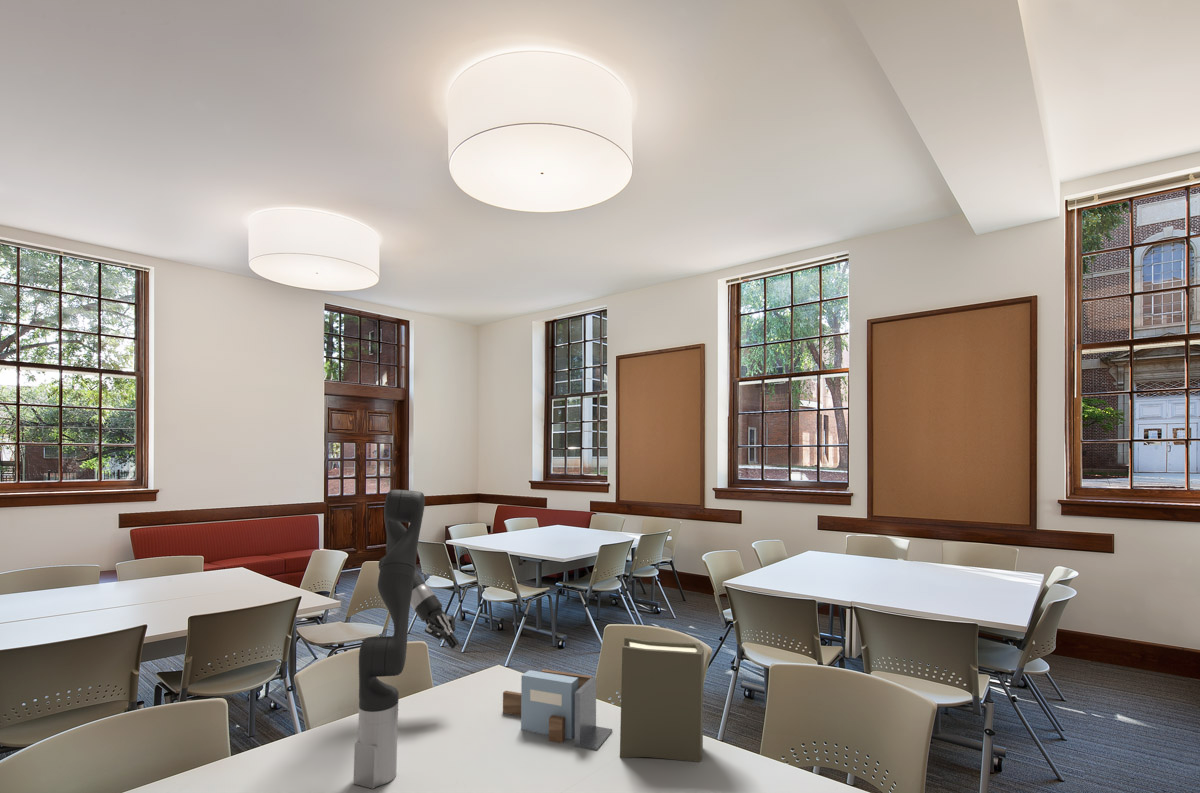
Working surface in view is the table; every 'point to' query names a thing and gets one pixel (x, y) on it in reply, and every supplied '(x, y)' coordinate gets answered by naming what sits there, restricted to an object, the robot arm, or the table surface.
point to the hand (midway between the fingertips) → (456, 646)
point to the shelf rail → (555, 722)
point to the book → (662, 700)
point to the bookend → (588, 718)
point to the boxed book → (547, 701)
